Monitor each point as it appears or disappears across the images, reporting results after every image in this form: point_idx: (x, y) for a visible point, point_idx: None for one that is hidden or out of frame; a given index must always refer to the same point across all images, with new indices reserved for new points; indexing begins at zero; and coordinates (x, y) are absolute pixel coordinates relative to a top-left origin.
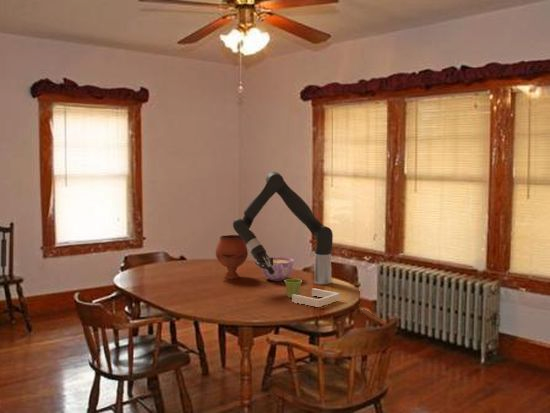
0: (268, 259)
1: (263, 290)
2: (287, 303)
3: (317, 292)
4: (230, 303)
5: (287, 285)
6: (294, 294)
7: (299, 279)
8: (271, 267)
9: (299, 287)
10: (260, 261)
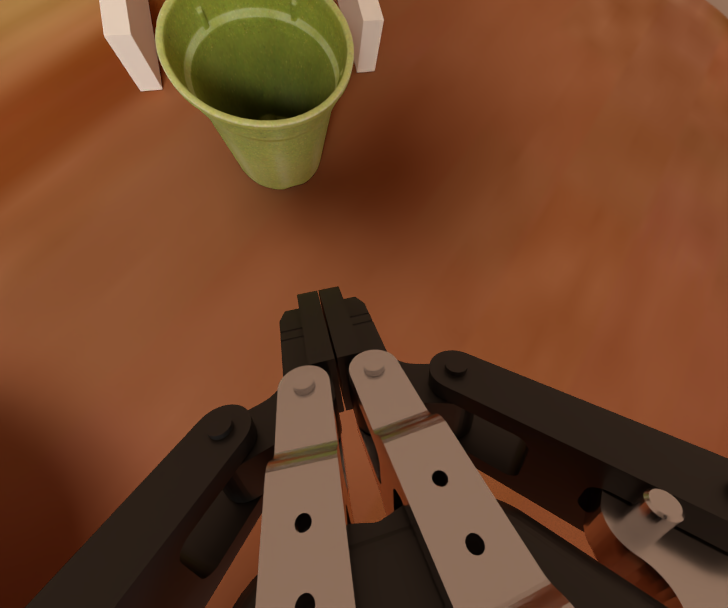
0: (273, 599)
1: (341, 435)
2: (408, 74)
3: (136, 9)
4: (680, 269)
5: (338, 78)
6: (366, 12)
7: (161, 31)
8: (310, 351)
9: (248, 40)
10: (657, 476)
